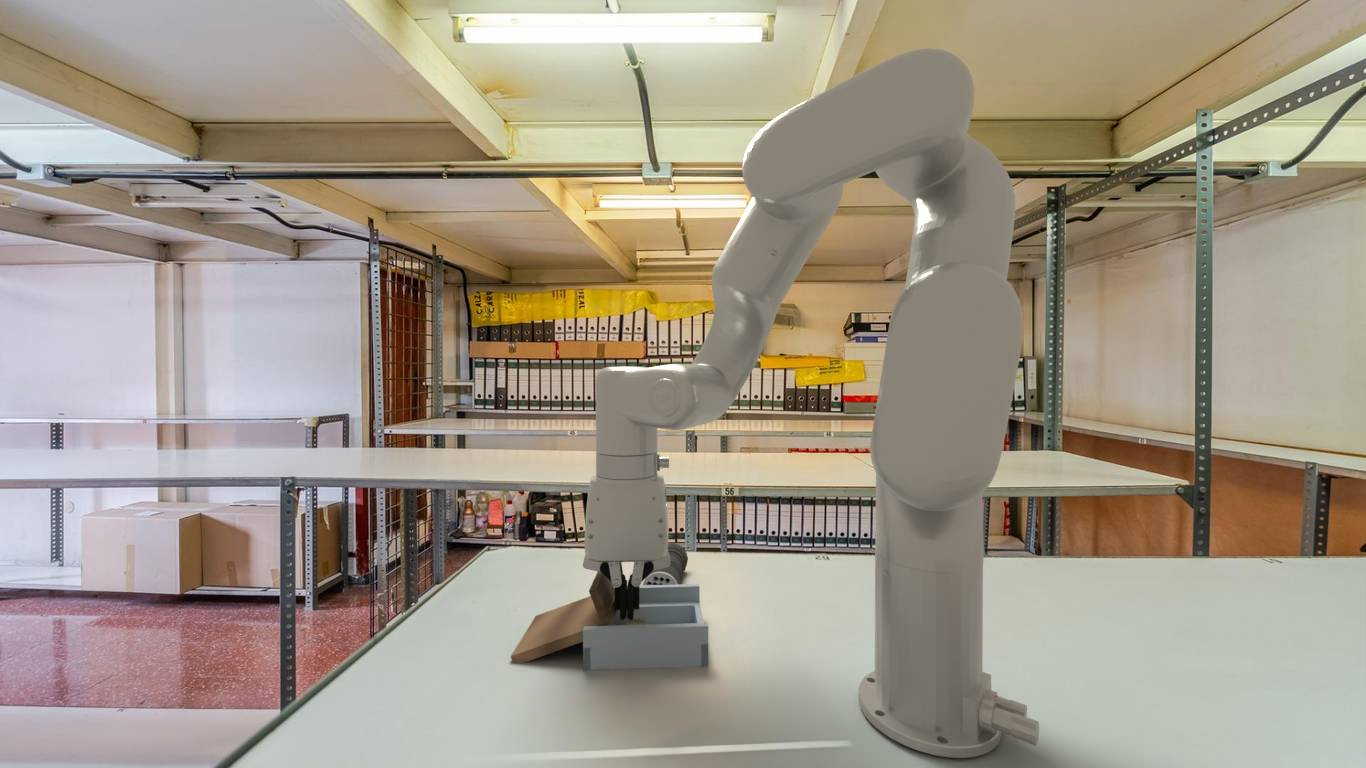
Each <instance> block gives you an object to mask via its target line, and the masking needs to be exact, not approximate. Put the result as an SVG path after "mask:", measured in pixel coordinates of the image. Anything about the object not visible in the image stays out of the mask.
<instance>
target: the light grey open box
mask: <svg viewBox="0 0 1366 768" xmlns="http://www.w3.org/2000/svg"><path fill="white" fill-rule="evenodd" d="M631 621H643V622H647V623H649V624H650V625H622V624H624V623H627V622H631ZM582 648H583V649H582V662H583V663H582V667H583V668H582V669H583V670H582V671H612V670H613V671H614V670H617V671H618V670H640V669H641V670H642V669H643V670H645V669H647V670H648V669H674V668H675V669H676V668H698V667H699V668H700V667H701V668H704V667H705V668H706V667H709V625H708V622H705V621H704V616H703V612H702V606H701V602H700V584H699V583H684V584H682V583H681V584H678V585H668V584H666V585H643V584H642V585H640V586H639V609H636V610H634V616H633V620H629V619H627V615H626V619H624V620H620V610H617V611H616V614H615V617H614V621H613V624H612V626H584V628H583V642H582Z"/></svg>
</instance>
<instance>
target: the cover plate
mask: <svg viewBox="0 0 1366 768" xmlns="http://www.w3.org/2000/svg"><path fill="white" fill-rule="evenodd" d="M594 576H595V577H594V579H593V581H592V583H591V585H590V588H589V590H588V592H589V595H590V596H587V597H585V598H582V599H578V600H576V601H574V602H571V603H568V604H565V605H562V606H560V607H559V606H558V607H557V608H554V609H551V610H548V611H545V612H542V613H540V614H536V616H535V617H534V618H533V620H532V621H531V623H530V625H529V626H528V628H527V629H526V631H525V633H524V634H523V636H522V637H521V639H520V641H519V642H518V644H517V645H516V647H515V649H514V650H513V652H512V653H511V655H510V659H511V661H512V663H528V662H530V661H533V660H535V659H538V658H541V657H544V656H546V655H548V654H549V655H550V654H552V653H555V652H557V651H561V650H563V649H566V648H569V647H571V646H574V645H577V644H580V643H583V628H584V626H612V624H613V621H614V617H615V614H616V611H617V610H615V587H614V586H613V585H612V582H611V581H610V580H609V579H608V578H607V577H606V576H605V575H604V574H602V573H601V572H600V571H596V574H595V575H594Z"/></svg>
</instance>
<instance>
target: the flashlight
mask: <svg viewBox="0 0 1366 768" xmlns="http://www.w3.org/2000/svg"><path fill="white" fill-rule="evenodd" d="M668 552H669V556H670V563H671V564H670V566H669V567H667V568H663V569H659V570H654V571H652V572H651V573H650V574H649V575H648V576H647V577H646V578H645V579H644V580H643V581H642V582H643V583H642V585H678V584H682V582H683V581H682V580H683V576H682V575H683V573H684V572H685V571H686V567H687V566H688V562H689V557H688V552H687V550H686V549H685V548H684V547H683V546H682V545H680V544H679V543H668ZM667 579H668V580H667Z"/></svg>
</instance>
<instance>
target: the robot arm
mask: <svg viewBox="0 0 1366 768" xmlns="http://www.w3.org/2000/svg"><path fill="white" fill-rule="evenodd" d="M974 104H975V85H974V81H973V76H972V75H971V72H970V70H969V67H968V66H967V65H966V64H965V63H964V61H963V60H962V59H961V58H959V57H958V56H957V55H954V54H953V53H952V52H949V51H947V50H944V49H940V48H937V49H936V48H929V47H928V48H921V49H914V50H909V51H906V52H903V53H901V54H896V55H895V56H893V57H891V58H889V59H886V60H884V61H881V62H880V63H877V64H875V65H874V66H872V67H869V68H867V69H866V70H863V71H861V72H860V73H858V74H856V75H853V76H852V77H850V78H847V79H845V80H843V81H842V82H840V83H838V84H835V85H834V86H831V87H829V88H827V89H825V90H824V91H822V92H819V93H818V94H816V95H814V96H811V97H810V98H807V99H806V100H805V101H802V102H800V103H798V104H797V105H795V106H793V107H792V108H790V109H788V110H786V111H785V112H783V113H781V114H779V115H778V116H777V117H775V118H773V119H772V120H770V122H768V123H767V124H766V125H765V126H764V127H762V128H761V129H760V130H759V131H758V132H757V133H756V134H755V136H754V137H753V138H752V139H751V141H750V143H749V144H748V146H747V147H746V150H745V152H744V157H743V160H742V166H741V167H742V168H741V170H742V179H743V181H744V184H745V187H746V189H747V190H748V192H749V193H750V195H751V196H752V198H751V199H750V201H749V202H748V204H747V206H746V209H745V211H744V212H743V214H742V215H741V217H740V220H739V222H738V223H737V225H736V227H735V229H734V230H733V232H732V233H731V236H730V237H729V239H728V241H727V243H726V244H725V246H724V247H723V249H722V252H720V255H719V257H718V259H717V260H716V262H715V264H714V266H713V268H712V271H711V288H712V289H711V290H712V295H713V296H712V297H713V304H714V307H713V308H714V309H713V317H712V322H711V324H710V328H709V330H708V333H707V335H706V338H705V339H704V341H703V344H702V345H701V347H700V349H699V351H698V352H697V354H696V356H695V358H694V359H693V361H692V362H691V363H670V364H662V365H657V366H656V365H655V366H649V367H646V366H635V365H634V366H630V365H629V366H622V365H621V366H620V365H619V366H607V367H603V368H602V369H600V370H599V371H598V373H597V374H596V377H595V378H596V379H595V445H596V446H595V474H596V475H593V476H591V478H590V481H589V485H588V494H587V501H586V511H585V523H584V524H585V525H584V526H585V527H584V558H583V562H582V567H583V568H584V569H586V570H590V571H593V572H598V571H600V572H601V573H602V574H604V575H605V576H606V577H607V578H608V579H609V580H610V581H611V582H612V585H613V586H614V587H615V610H620V620H624V619H626V615H627V619H629V620H633V616H634V610H636V609H639V586H640V585H641V584H642V582H644V580H645V578H646V577H647V576H648V575H649V574H650V573H651V572H652V571H654V570H659V569H663V568H667V567H669V566H670V564H671V563H670V556H669V552H668V544H669V517H668V516H669V515H668V500H667V499H668V498H667V490H666V483H665V480H664V479H665V478H664V475H661V474H658V472H660V471H661V470H663V469H669V468H670V456H663V455H661V454H660V453H658V429H661V430H666V431H668V430H669V431H680V430H681V431H682V430H686V429H690V428H694V427H697V426H700V425H701V426H703V425H707V424H711V423H712V422H715V421H716V420H719V419H720V418H721V417H722V416H723V415H725V413H726V412H727V411H728V410H729V409H730V408H731V406H732V404H733V403H734V402H735V400H736V398H737V396H738V395H739V393H740V391H741V390H742V389H743V387H744V385H745V383H746V382H747V380H748V379H749V377H750V376H751V373H752V372H753V370H754V368H755V366H756V364H757V362H758V360H759V358H760V356H761V354H762V352H763V350H764V347H765V345H766V342H767V339H768V337H769V334H770V332H771V330H772V328H773V326H774V323H775V320H776V317H777V313H778V311H779V309H780V306H781V304H782V303H783V301H784V299H785V298H786V296H787V294H788V292H789V291H790V289H791V287H792V286H793V284H794V283H795V281H796V279H797V277H798V276H799V274H800V272H801V271H802V270H803V267H804V265H806V262H807V261H808V259H809V257H810V256H811V254H812V252H813V250H814V249H815V248H816V246H817V244H818V243H819V241H820V239H821V238H822V236H823V234H824V233H825V231H826V230H827V227H828V226H829V225H830V222H831V221H832V219H833V217H834V215H835V214H836V212H837V209H838V207H839V206H840V203H841V200H842V197H843V192H844V185H845V184H846V183H849V182H851V181H854V180H856V179H859V178H861V177H863V176H866V175H869V174H870V173H873V172H875V173H876V174H877V176H878V178H879V179H880V181H881V182H883V184H884V185H885V186H887V187H888V188H889V189H891V190H893V191H894V192H895V193H897V194H899V195H900V196H902V197H903V198H905V200H906V201H907V202H908V203H909V204H910V206H911V207H912V210H913V215H914V221H913V222H914V224H913V231H912V237H911V242H910V254H909V255H910V256H909V261H908V266H907V273H906V279H905V285H904V287H903V289H902V290H901V291H900V293H899V295H898V296H897V298H896V300H895V302H894V305H893V307H892V311H891V314H890V315H891V316H890V320H889V325H888V331H887V338H886V342H885V344H886V345H885V350H884V355H883V362H882V368H881V369H882V370H881V375H880V381H879V387H878V394H877V398H876V399H877V401H876V404H875V405H876V406H875V410H874V411H875V412H874V420H873V424H872V431H871V435H870V443H869V444H870V447H869V450H870V459H871V464H872V466H873V468H874V472H875V531H874V532H875V539H874V540H875V541H874V543H875V544H874V545H875V548H874V549H875V551H874V671H870V673H869V674H867V675H865V676H864V677H863V679H861V681H860V684H859V685H858V703H859V707H860V710H861V711H862V713H863V715H864V716H865V717H866V719H867V720H868V721H869V722H870V723H871V724H872V725H873V726H874V727H875V728H876V729H877V730H879V732H881V733H882V734H884V735H885V736H887V737H888V738H890V739H891V740H894V741H895V742H897V743H899V744H901V745H903V746H905V747H907V748H910V749H913V750H915V751H917V752H921V753H925V754H928V755H933V756H936V757H937V756H938V757H943V758H950V759H951V758H952V759H954V758H955V759H966V758H968V759H969V758H975V757H979V756H982V755H983V756H984V755H985V754H988V753H989V752H991V751H993V750H995V748H997V746H998V745H999V744H1000V741H1001V738H1002V733H1003V734H1006V735H1010V736H1011V738H1014V739H1016V740H1019V741H1022V742H1024V743H1026V744H1028V745H1031V746H1034V747H1037V746H1038V743H1039V735H1040V723H1039V721H1038V720H1036V719H1033V718H1030V717H1028V706H1027V704H1025V703H1024V704H1023V703H1021V702H1019V701H1016V700H1013V699H1007V698H1005V697H1002V696H1000V695H998V692H997V691H994V690H992V674H990V673H987V672H984V671H983V647H984V646H983V637H984V635H983V631H984V629H983V627H984V626H983V624H984V623H983V622H984V621H983V619H984V618H983V617H984V616H983V615H984V613H983V612H984V611H983V609H984V608H983V607H984V601H983V598H984V597H983V595H984V594H983V593H984V588H983V587H984V586H983V585H984V513H983V511H984V508H983V493H984V492H985V491H986V489H988V487H989V486H990V484H991V483H992V482H993V479H994V477H995V476H996V473H997V471H998V467H999V465H1000V460H1001V458H1002V453H1003V449H1004V444H1005V439H1006V433H1007V428H1008V423H1009V419H1010V418H1009V417H1010V413H1011V408H1012V407H1011V406H1012V402H1013V401H1012V400H1013V397H1014V392H1015V391H1014V390H1015V386H1016V379H1017V373H1018V367H1019V362H1020V358H1021V357H1020V356H1021V350H1022V345H1023V338H1024V337H1023V335H1024V317H1023V316H1024V314H1023V308H1022V306H1021V301H1020V298H1019V296H1018V295H1017V292H1016V291H1015V289H1014V287H1013V286H1012V285H1011V283H1010V282H1009V281H1008V280H1007V279H1008V273H1009V267H1010V261H1011V252H1012V251H1011V250H1012V242H1013V234H1014V229H1015V220H1016V219H1015V218H1016V196H1015V189H1014V185H1013V183H1012V180H1011V177H1010V176H1009V173H1008V171H1007V170H1006V168H1005V166H1004V165H1003V164H1002V162H1001V161H1000V160H999V159H998V157H997V156H996V155H995V154H994V153H993V152H992V151H991V150H990V149H989V148H988V147H986V146H985V145H984V144H982V143H981V142H979V141H978V140H977V139H975V138H974V137H973V136H971V135H969V134H968V130H969V126H970V123H971V119H972V116H973V115H972V114H973V112H974ZM622 563H633V567H632V573H631V574H630V575H629V578H628V579H627V578H626V575H625V574H624V570H623V564H622Z"/></svg>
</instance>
